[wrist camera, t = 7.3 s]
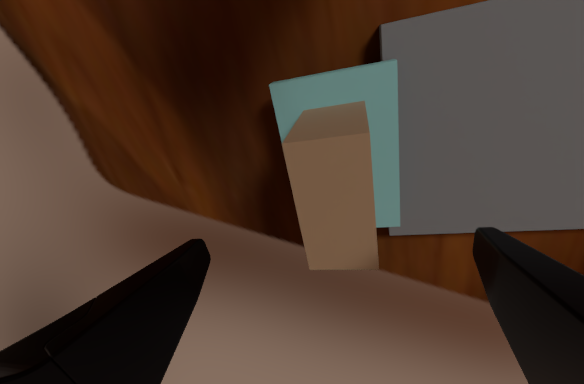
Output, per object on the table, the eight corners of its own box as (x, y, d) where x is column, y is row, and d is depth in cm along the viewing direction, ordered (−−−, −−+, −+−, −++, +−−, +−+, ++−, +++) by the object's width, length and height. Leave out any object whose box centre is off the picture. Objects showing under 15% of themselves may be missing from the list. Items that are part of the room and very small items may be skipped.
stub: (394, 58, 13) (420, 74, 8) (398, 218, 17) (416, 295, 12) (272, 82, 14) (230, 107, 9) (303, 223, 18) (284, 292, 14)
